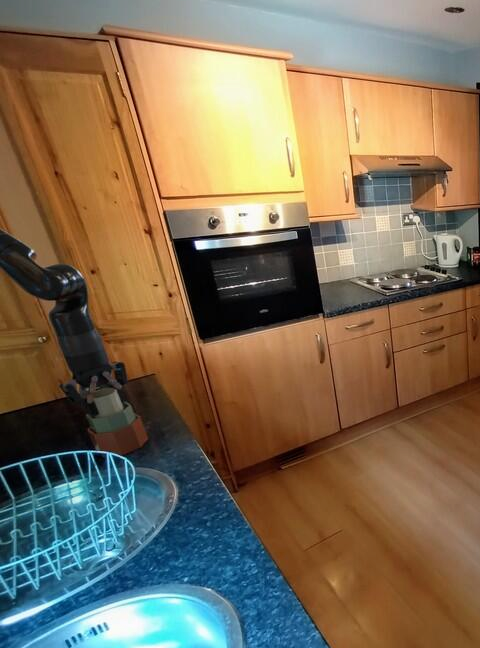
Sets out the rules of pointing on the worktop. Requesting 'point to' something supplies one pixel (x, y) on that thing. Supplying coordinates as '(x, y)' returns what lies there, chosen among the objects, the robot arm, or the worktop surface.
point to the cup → (107, 402)
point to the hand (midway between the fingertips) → (107, 408)
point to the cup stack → (117, 431)
